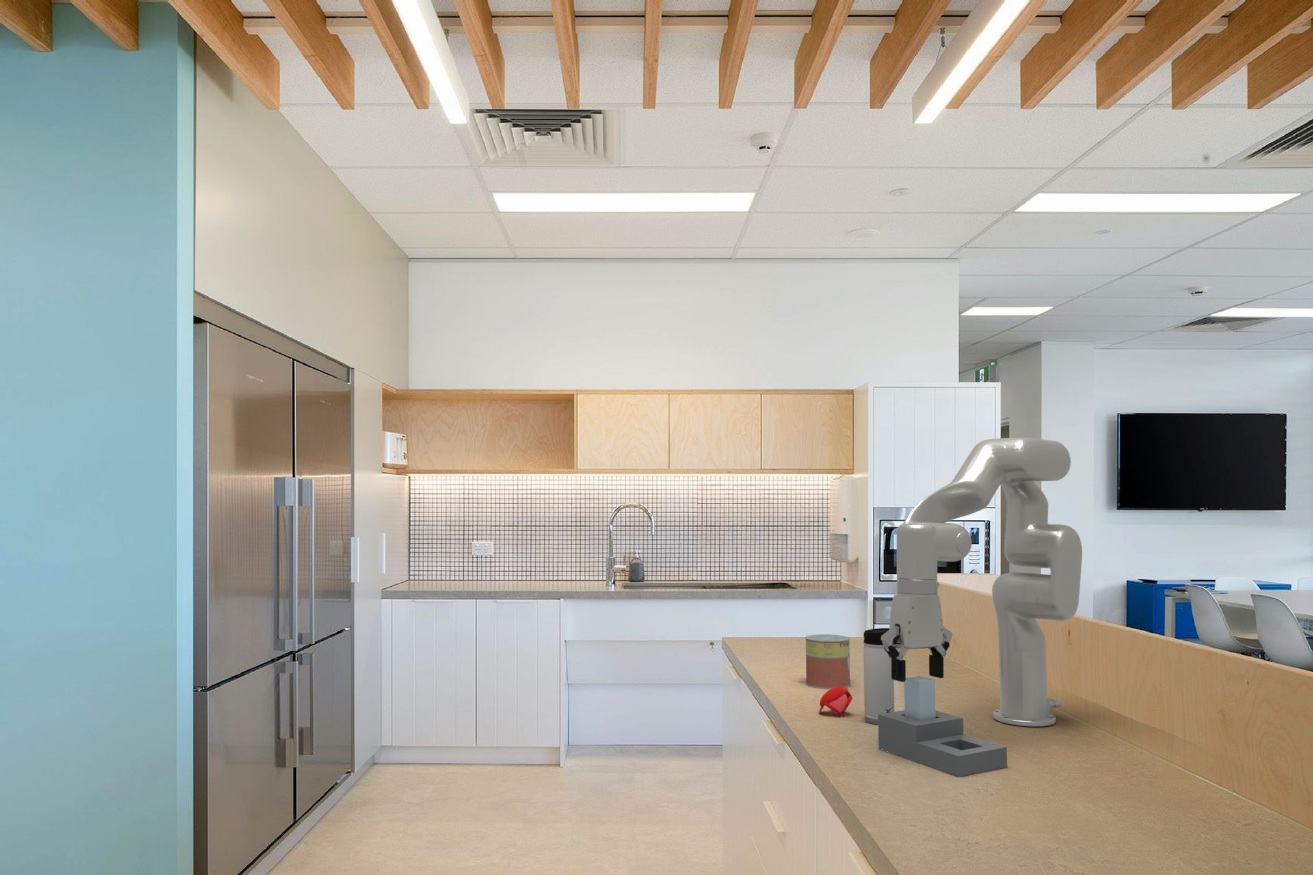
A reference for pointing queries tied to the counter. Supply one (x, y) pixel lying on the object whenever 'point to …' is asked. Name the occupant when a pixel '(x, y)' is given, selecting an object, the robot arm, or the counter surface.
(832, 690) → the cap
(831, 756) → the counter surface
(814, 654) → the canned food
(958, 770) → the socket panel
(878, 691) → the travel mug
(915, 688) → the plug
